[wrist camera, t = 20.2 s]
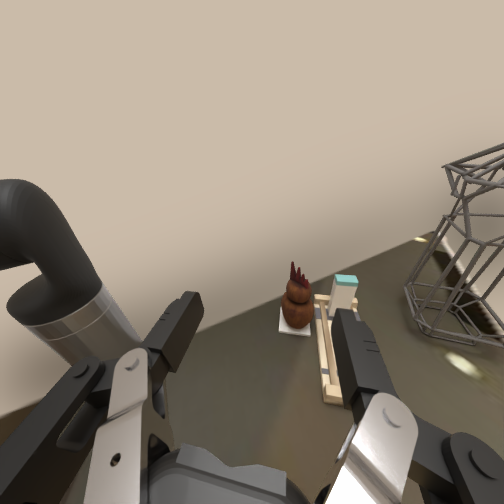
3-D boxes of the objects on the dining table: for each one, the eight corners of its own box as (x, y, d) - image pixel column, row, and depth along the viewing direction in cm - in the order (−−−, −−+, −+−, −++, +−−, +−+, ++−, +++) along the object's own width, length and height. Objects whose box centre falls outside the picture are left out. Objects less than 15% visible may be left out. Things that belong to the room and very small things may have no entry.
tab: (328, 316, 39) (337, 281, 34) (327, 308, 41) (335, 274, 35) (346, 318, 38) (358, 282, 33) (344, 310, 40) (355, 275, 35)
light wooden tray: (323, 402, 28) (326, 394, 26) (313, 302, 44) (314, 294, 43) (389, 416, 26) (397, 408, 24) (353, 307, 42) (356, 298, 41)
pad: (278, 332, 38) (278, 330, 38) (280, 308, 44) (280, 306, 43) (310, 336, 37) (310, 335, 37) (308, 311, 42) (308, 309, 42)
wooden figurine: (276, 312, 42) (277, 259, 34) (298, 305, 43) (304, 252, 35) (291, 338, 36) (296, 282, 28) (316, 328, 38) (327, 273, 30)
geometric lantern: (519, 376, 29) (953, 89, 10) (400, 344, 35) (537, 124, 16) (468, 303, 41) (624, 109, 22) (385, 289, 47) (454, 125, 28)
